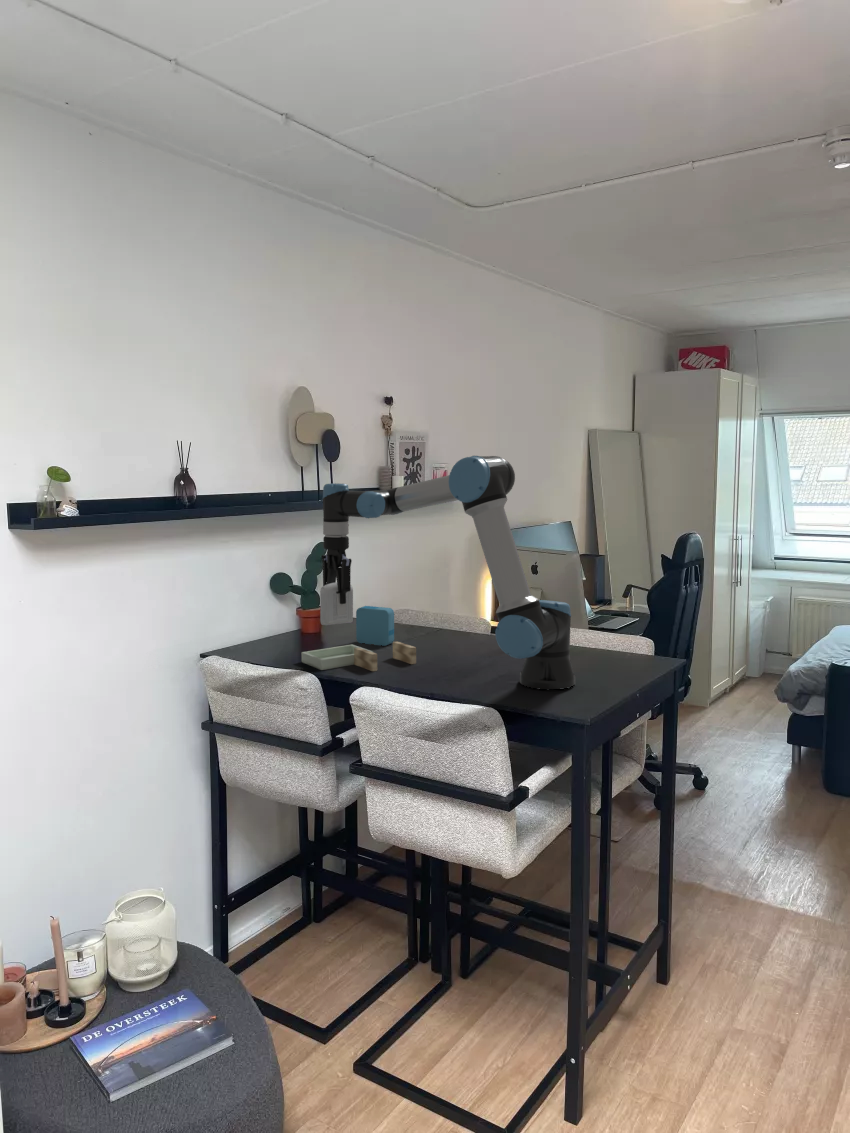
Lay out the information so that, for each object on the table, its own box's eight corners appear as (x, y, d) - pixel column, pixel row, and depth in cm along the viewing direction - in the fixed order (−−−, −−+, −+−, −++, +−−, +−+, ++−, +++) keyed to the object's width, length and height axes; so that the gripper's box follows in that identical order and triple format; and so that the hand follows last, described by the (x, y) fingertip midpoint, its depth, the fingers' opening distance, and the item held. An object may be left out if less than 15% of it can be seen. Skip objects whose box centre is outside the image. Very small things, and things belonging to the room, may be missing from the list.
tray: (373, 661, 258) (373, 651, 258) (321, 670, 247) (321, 660, 247) (352, 653, 267) (352, 644, 267) (301, 662, 257) (301, 652, 256)
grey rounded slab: (348, 620, 260) (348, 580, 259) (355, 622, 257) (355, 582, 255) (318, 624, 255) (317, 583, 253) (324, 626, 251) (324, 585, 250)
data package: (394, 643, 282) (394, 608, 280) (388, 646, 278) (388, 610, 276) (362, 640, 287) (362, 605, 285) (356, 643, 282) (355, 607, 281)
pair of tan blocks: (416, 663, 255) (416, 647, 255) (372, 671, 246) (372, 654, 245) (397, 657, 263) (397, 641, 262) (354, 664, 254) (354, 648, 253)
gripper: (362, 537, 247) (363, 616, 251) (331, 532, 261) (332, 607, 265) (340, 538, 243) (341, 619, 246) (310, 533, 257) (311, 609, 260)
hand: (336, 612), depth 255 cm, fingers closed on grey rounded slab, 4 cm apart
